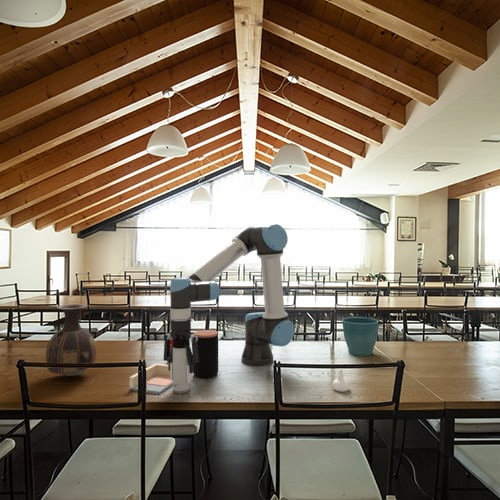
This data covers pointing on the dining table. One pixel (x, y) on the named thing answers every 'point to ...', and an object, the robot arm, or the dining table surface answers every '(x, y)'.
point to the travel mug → (180, 367)
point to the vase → (71, 343)
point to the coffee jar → (206, 354)
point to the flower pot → (360, 335)
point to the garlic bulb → (340, 383)
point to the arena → (154, 379)
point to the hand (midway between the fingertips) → (181, 380)
